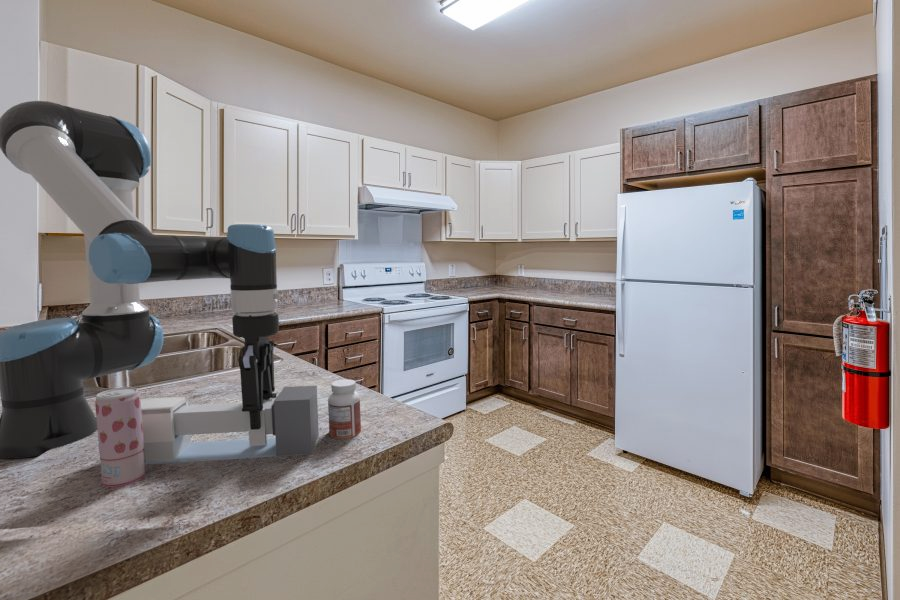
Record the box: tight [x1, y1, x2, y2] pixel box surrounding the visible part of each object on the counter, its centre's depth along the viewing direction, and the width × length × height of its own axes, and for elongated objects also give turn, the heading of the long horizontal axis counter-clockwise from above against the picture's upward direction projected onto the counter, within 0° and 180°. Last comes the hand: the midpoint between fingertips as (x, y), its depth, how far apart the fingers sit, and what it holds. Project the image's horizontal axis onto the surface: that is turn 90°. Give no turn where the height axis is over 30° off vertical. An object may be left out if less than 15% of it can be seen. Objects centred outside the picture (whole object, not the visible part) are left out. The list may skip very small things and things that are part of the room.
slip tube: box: [173, 400, 275, 436], centre depth 79 cm, size 24×5×5 cm, turn 98°
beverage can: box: [94, 386, 147, 488], centre depth 69 cm, size 6×6×15 cm
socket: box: [273, 385, 320, 457], centre depth 81 cm, size 6×8×10 cm
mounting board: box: [146, 435, 319, 466], centre depth 80 cm, size 32×8×1 cm, turn 98°
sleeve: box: [140, 395, 192, 463], centre depth 77 cm, size 9×7×9 cm
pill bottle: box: [327, 378, 362, 439], centre depth 87 cm, size 6×6×11 cm
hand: (261, 438), depth 80 cm, fingers closed on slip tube, 4 cm apart
